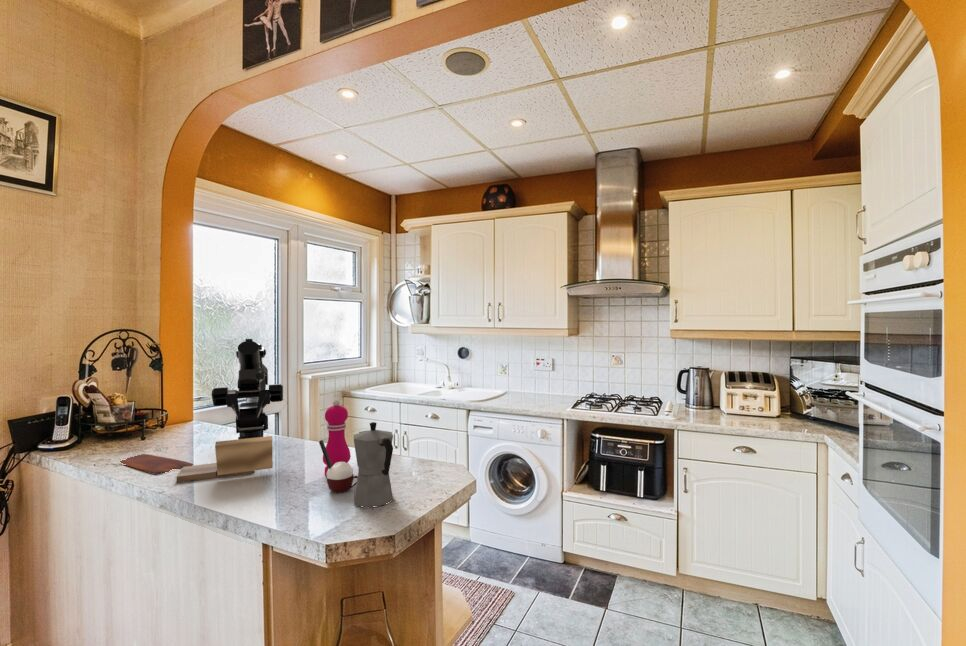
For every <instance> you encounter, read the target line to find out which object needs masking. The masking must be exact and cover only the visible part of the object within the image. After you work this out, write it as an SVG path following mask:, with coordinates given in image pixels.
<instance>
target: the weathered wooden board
mask: <svg viewBox="0 0 966 646" xmlns="http://www.w3.org/2000/svg"><path fill="white" fill-rule="evenodd" d="M255 471H256V470H254V471H247V472H239V473H231V474H223V475H218V473H217V462H212V463H203V464H195V465H194V464H193V466H186V467H183V468H182V469H180V471H179V473H178V474H177V475H176V483H177V482H180V483H184V482H183V481H188V482H192V481H191V480H195V481H200V480H199V479H203V480H209V479H216V478H217V479H218V478H223V477H224V478H225V477H233V476H239V475H240V476H242V475H245V474H246V475H248V474H254V473H255Z"/></svg>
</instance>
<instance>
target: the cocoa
mask: <svg viewBox="0 0 966 646" xmlns="http://www.w3.org/2000/svg"><path fill="white" fill-rule="evenodd" d="M318 443H319V446H320V449H321V452H322V455H323V454H324V457H325V460H326V462H327V465H328V468H329V469H328V471H327V473H326V474H327V476H326V482H327V483H326V484H327V486H328V489H329V490H330V492H333V493H335V492H336V493H337V494H340V493H339V492H341V493H344V491H345V492H346V491H349V489H352V488H354V487H356V483H357V481H356V482H355V483H354V479H357V477H358V475H354V471H353V470H354V469H353V467H352V465H351V464H350V463H349V462H348V463H346V462H337V463H335V464H334V465H333V466H332V464H331V461H330V458H329V456H328V453H327V450H326V446H325V442H324V440H323V439H320V440H319V442H318ZM327 465H326V466H327Z"/></svg>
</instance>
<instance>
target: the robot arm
mask: <svg viewBox="0 0 966 646" xmlns="http://www.w3.org/2000/svg"><path fill="white" fill-rule="evenodd" d="M235 353H236V358H237V359H238V363H239V370H238V379H237V389H238V390H236V389H229V387H228V386H224V387H214V388H213V389H212V390H211V397H212V398H211V399H212V404H213V406H214V407H223V406H226V407H227V408H231V409H232V411H233V412H234V414H235V433H236V434H239V435H238V438H237V439H247V438H257V437H264V432H265V431H267V430H269V416H268V415H267V413H266V411H264V409H265V407H267V405H270V404H271V402H272V403H276V402H283V401H284V387H283V386H284V385H282V383H277V384H275V383H273V384H269V374H268V373H269V371H268V367H267V366H266V365H265V364H264V362H263V358H265V357H266V355H267V350H266V349H265V347H264V346H263V344H262V343H257V342H256V341H254V340H253V338H245V341H243V342H241V343H240V344H238V346H237V349H236V351H235ZM267 386H268V389H266V388H267ZM241 399H246V400H245V402H241V403H240V405H239V400H241Z"/></svg>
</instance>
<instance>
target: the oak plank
mask: <svg viewBox="0 0 966 646" xmlns="http://www.w3.org/2000/svg"><path fill="white" fill-rule="evenodd" d="M214 445H215V446H214V447H215V448H214V450H215V461H216V462H215V463H217V473H218V475H223V474H231V473H239V472H247V471H254V470H255V471H261V470H268V469H273V467H274V463H273V462H274V461H273V456H274V455H273V435H269V436H263V437H257V438H247V439H238V438H237V439H228V440H220V441H219V440H217V441H215V444H214ZM255 471H254V472H255Z"/></svg>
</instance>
